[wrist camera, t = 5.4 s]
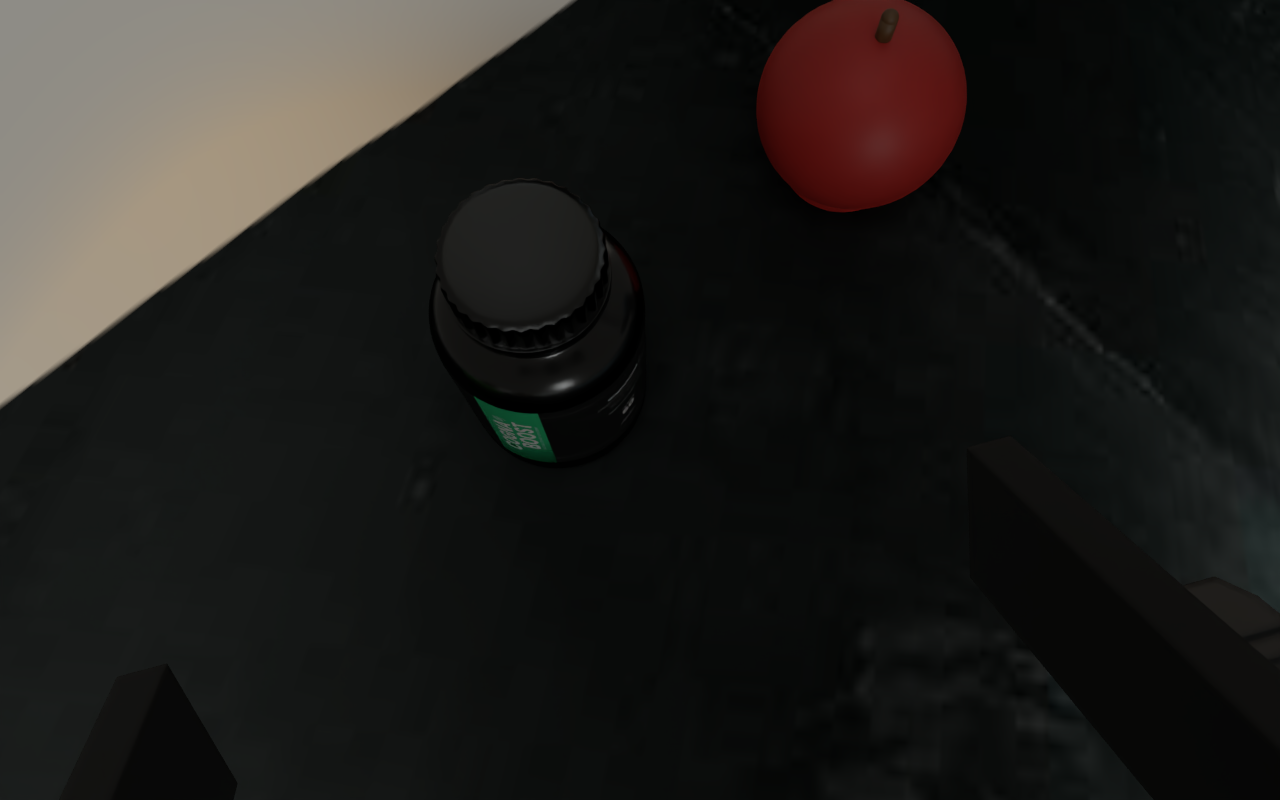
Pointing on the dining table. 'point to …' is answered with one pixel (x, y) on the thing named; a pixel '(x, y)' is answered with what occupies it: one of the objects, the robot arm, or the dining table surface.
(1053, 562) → the robot arm
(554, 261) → the supplement bottle
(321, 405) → the dining table surface
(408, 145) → the dining table surface
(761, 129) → the apple
